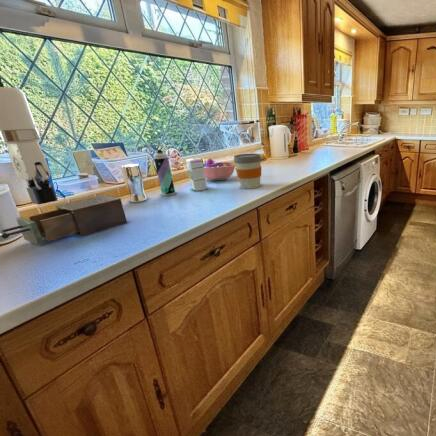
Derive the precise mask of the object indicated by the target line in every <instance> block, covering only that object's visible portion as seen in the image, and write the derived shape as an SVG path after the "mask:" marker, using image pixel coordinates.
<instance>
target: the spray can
mask: <svg viewBox="0 0 436 436" xmlns="http://www.w3.org/2000/svg"><path fill="white" fill-rule="evenodd" d="M153 161H154V165H155V169H156V174H157V178H158V182H159V187H160V192H161V195H162V196H164V197H165V196H166V197H167V196H168V197H169V196H173V195H176V190H175V184H174V180H173V179H174V178H173V175H172V170H171V166H170V165H171V164H170V161H169V157H168V154H166V153H164V152H163V150H162V149H157V150H156V152H155V154H154V155H153Z"/></svg>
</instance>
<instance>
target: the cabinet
mask: <svg viewBox="0 0 436 436" xmlns="http://www.w3.org/2000/svg"><path fill="white" fill-rule="evenodd" d="M58 209H62V210H66V211H69V212H72V213H73V216H74V219H75V222H76V225H77V228H78V231H79V232H78V233H75V234H74V235H75V236H78V237H82V238H83V237H85V236H89V235H92V234H95V233H98V232H102V231H105V230H108V229H111V228H114V227H117V226H120V225H124V224H128V221H127V220H128V219H127V217H126V213H125V209H124V206H123V202H122V199H121V198H119V197H116V196H110V195H105V194H100V195H95V196H91V197H87V198H83V199H78V200H73V201H70V202H69V201H68V202H65V203H64V202H63V203H60V204H56V205H55V210H58Z"/></svg>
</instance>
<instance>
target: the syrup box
mask: <svg viewBox="0 0 436 436" xmlns="http://www.w3.org/2000/svg"><path fill="white" fill-rule="evenodd" d="M185 162H186V167H187V173H188V177H189V182H190V187H191V190H193V191H195V192H199V191H204V190H208V183H207V179H206V178H205V173H204V168H203V164H204V163H203V159H202V158H198V157H191V158H187V159H185Z"/></svg>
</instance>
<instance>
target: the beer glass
mask: <svg viewBox="0 0 436 436" xmlns="http://www.w3.org/2000/svg"><path fill="white" fill-rule="evenodd" d="M120 169H121V175H122V178H123V182H124V184H125V186H126V188H127V190H128V192H129V197H130V198H129V199H130V202H131V203H140V202H145V201H147V199H148V198H147V196H146V194H145V189H144V188H145V187H144V176H143V172H142V169H141V166H140V164H138V163H130V164H123V165H121V166H120Z"/></svg>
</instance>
